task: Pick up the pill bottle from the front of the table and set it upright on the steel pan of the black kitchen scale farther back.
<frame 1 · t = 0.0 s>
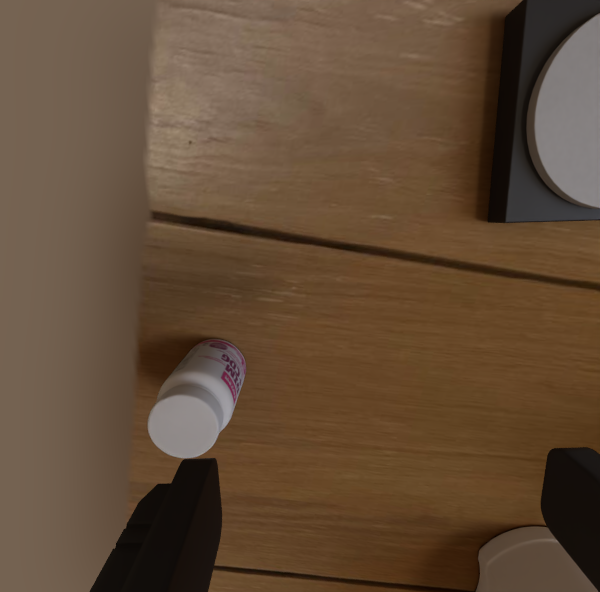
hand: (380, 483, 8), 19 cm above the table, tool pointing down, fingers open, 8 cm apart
scale: (589, 122, 24), on the table
pill bottle: (217, 364, 28), on the table
jar: (524, 574, 33), on the table
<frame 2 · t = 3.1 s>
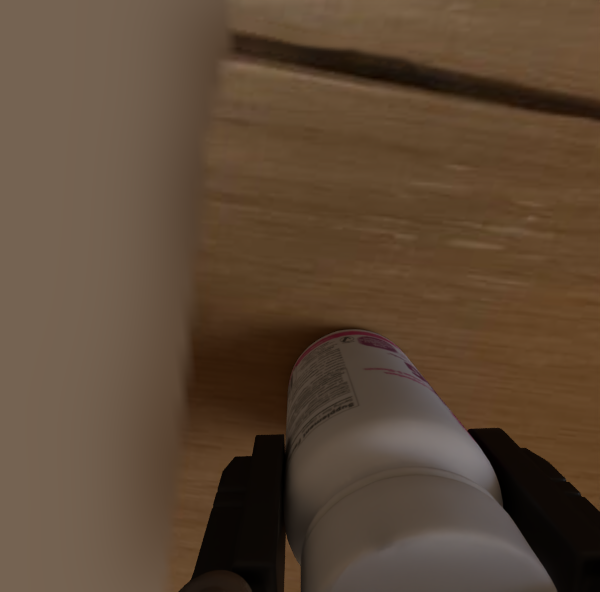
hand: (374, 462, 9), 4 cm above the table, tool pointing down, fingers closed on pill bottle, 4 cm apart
pill bottle: (349, 382, 14), on the table, touching gripper
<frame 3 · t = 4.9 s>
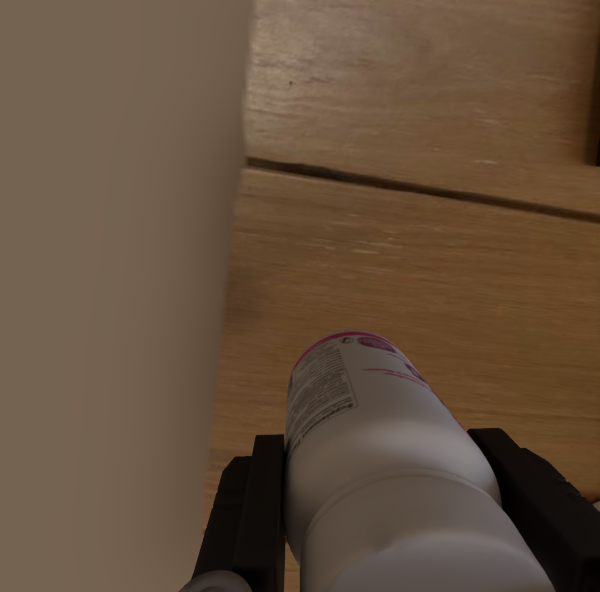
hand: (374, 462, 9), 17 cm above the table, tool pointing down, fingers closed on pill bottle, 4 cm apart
pill bottle: (349, 382, 14), point 13 cm above the table, touching gripper
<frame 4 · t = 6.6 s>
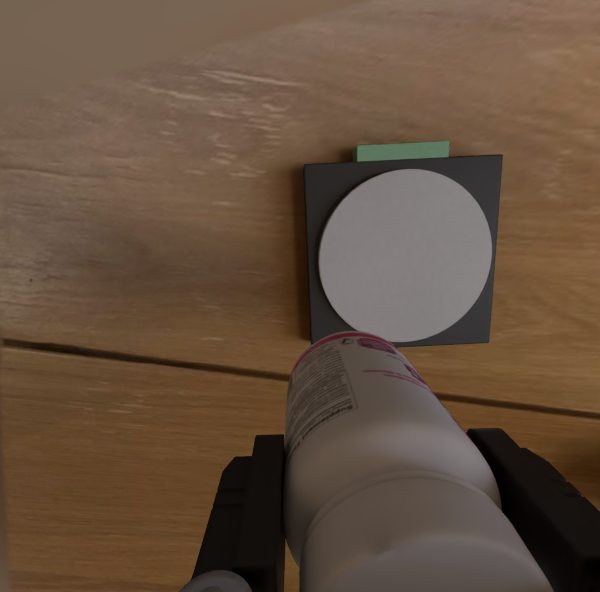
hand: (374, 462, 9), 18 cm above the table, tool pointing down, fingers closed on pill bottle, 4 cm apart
scale: (393, 255, 26), on the table
pill bottle: (348, 383, 14), point 14 cm above the table, touching gripper
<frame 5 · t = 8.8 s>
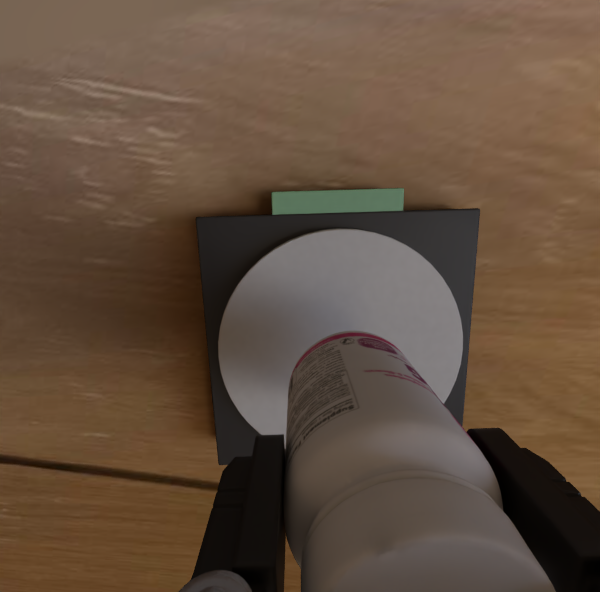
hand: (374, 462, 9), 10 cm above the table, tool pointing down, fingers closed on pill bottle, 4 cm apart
scale: (334, 333, 19), on the table
pill bottle: (349, 383, 14), point 6 cm above the table, touching gripper
when the fingers open (7 cm above the table, at t = 10.1 s): pill bottle stays where it is, resting on scale.
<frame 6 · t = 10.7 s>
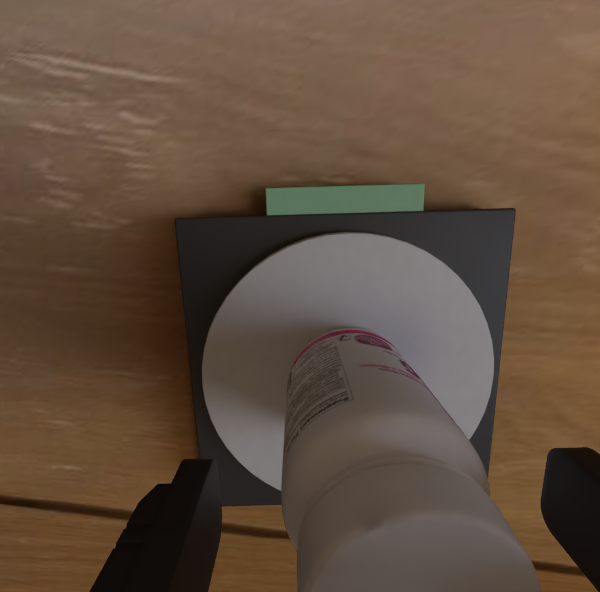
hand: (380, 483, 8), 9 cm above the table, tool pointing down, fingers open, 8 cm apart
scale: (339, 352, 17), on the table
pill bottle: (346, 379, 14), point 3 cm above the table, touching scale
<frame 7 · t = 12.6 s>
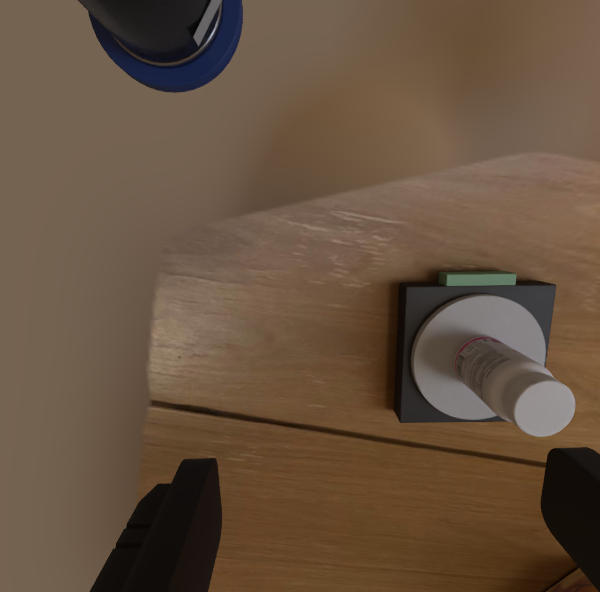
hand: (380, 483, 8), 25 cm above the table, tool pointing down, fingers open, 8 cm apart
scale: (463, 348, 34), on the table
candy box: (566, 589, 40), on the table
pill bottle: (478, 359, 31), point 3 cm above the table, touching scale
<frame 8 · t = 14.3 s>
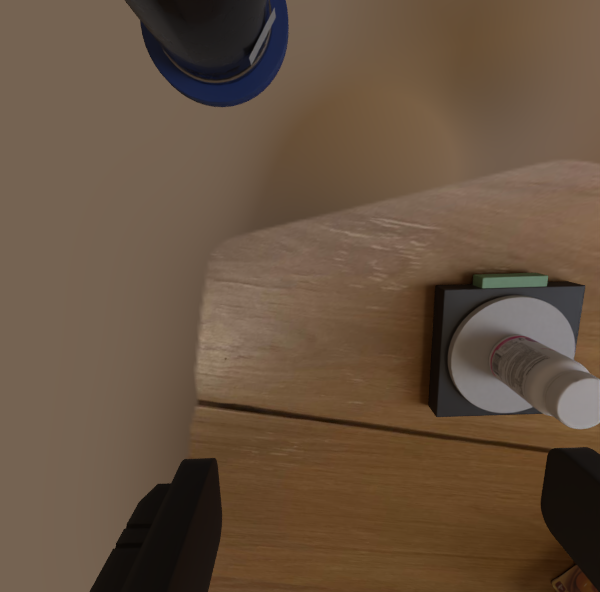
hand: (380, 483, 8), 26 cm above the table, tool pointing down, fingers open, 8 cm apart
scale: (495, 345, 36), on the table
candy box: (587, 568, 42), on the table
pill bottle: (511, 356, 33), point 3 cm above the table, touching scale
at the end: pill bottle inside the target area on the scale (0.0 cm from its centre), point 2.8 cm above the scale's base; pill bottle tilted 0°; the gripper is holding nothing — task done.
